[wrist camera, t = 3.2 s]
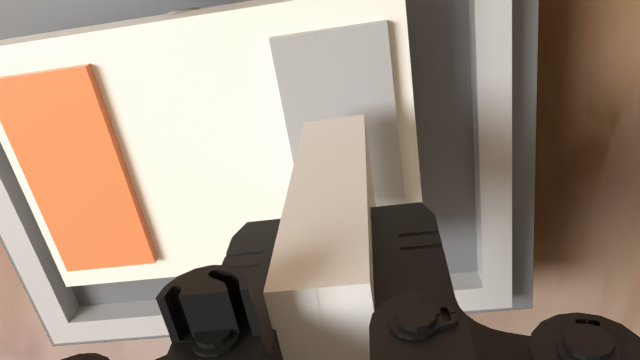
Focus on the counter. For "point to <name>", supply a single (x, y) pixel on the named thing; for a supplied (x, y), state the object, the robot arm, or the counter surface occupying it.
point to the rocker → (195, 125)
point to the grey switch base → (433, 152)
